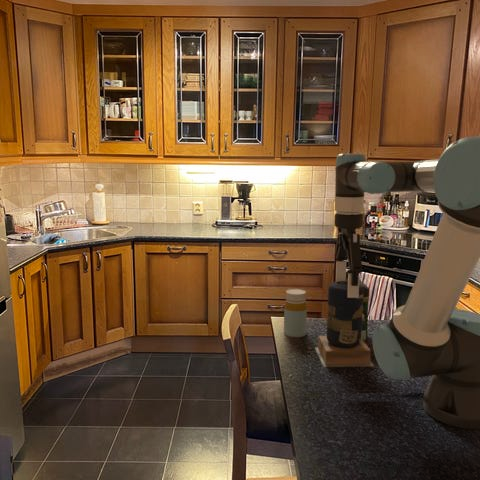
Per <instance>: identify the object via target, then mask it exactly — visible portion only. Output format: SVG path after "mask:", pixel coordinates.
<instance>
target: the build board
mask: <svg viewBox="0 0 480 480" xmlns="http://www.w3.org/2000/svg"><path fill="white" fill-rule="evenodd" d="M314 349H315V351H316V353H317V355H318V358H319V360H320V362H321V364H322V367H323V368H353V367H355V368H357V367H358V368H361V367H365V368H366V367H368V368H370V367H375V366H374V364H373V362H372V361H371V360H370V365H325V362H324V360H323V358H322V356H321V354H320V352H319V349H318V346H317V347H316V346H315V347H314Z"/></svg>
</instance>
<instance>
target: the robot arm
mask: <svg viewBox="0 0 480 480" xmlns="http://www.w3.org/2000/svg"><path fill="white" fill-rule="evenodd" d="M366 158H367V157H366V155H365V154H364V153H339V154H338V155H337V156H336V161H335V162H336V163H335V167H334V168H335V169H334V170H335V180H334V181H335V190H334V192H335V193H334V211H335V213H334V221H333V223H334V224H333V225H334V227H335V228H337V236H336V237H337V238H336V243H335V249H334V255H333V256H334V258H335V263H336V264H335V282H336V281H346V280H348V296H347V297H348V298H359V281H360V274H361V273H363V262H362V261H363V260H362V253H361V234H359V233H357V231H356V230H357V229H361V228H363V227H364V214H363V212H364V208H365V207H364V206H365V204H366V202H367V200H366V199H365V193H367V194H370V195H375V194H376V195H382V194H384V193H403V192H404V193H405V192H406V193H407V192H409V193H411V192H412V193H413V192H418V193H419V192H421V193H422V192H426V193H428V192H431V193H432V192H434V195H435V197H436V199H437V200H438V201H437V205H438V209H439V210H440V211H441V213H442V215H441V218H440V220H439V223H438V224H437V227H436V230H435V233H434V235H433V237H432V239H431V242H430V244H429V247H428V249H427V252H426V254H425V256H424V259H423V260H422V263H421V265H420V269H419V271H418V274H417V276H416V278H415V280H414V283H413V286H412V289H411V290H410V292H409V294H408V298H407V300H406V303H405V304H404V305H401V306H399V307H397V308H396V309H395V310H394V312H393V314H392V317H391V319H390V321H389V323H381V324H378V325H377V326H375V328H374V330H373V332H372V342H371V343H372V349H373V353H374V358H375V360H376V362H377V363H378V364H377V365H378V367H379V368H380V370H381V371H382V372H383V374H384V375H385V376H386V377H387V378H389V379H392V380H395V381H399V380H406V381H407V380H411V379H417V378H423V377H424V378H425V377H430V376H432V377H431V379H430V381H429V384H428V385H427V388H426V390H425V391H424V394H423V402H422V406H423V409H424V411H425V412H426V413H427V414H428V415H429V416H431V417H432V418H433V419H435V420H437V421H439V422H441V423H442V424H446V425H448V426H452V427H454V428H455V427H456V428H460V429H465V430H480V313H477V312H474V311H470V310H465V309H460V308H457V306H458V303H459V301H460V298H461V296H462V295H463V292H464V290H465V289H466V287H467V285H468V282H469V281H470V278H471V276H472V275H473V273H474V270H475V268H476V266H477V265H478V263H479V261H480V135H477V136H465V137H463V138H460V139H458V140H456V141H454V142H452V143H451V144H449V146H447V148H445V150H444V151H443V152H442V153H441V155H440V157H439V158H438V159H437V158H436V159H423V160H410V161H408V160H407V161H405V160H404V161H403V160H402V161H397V160H396V161H394V160H392V161H390V160H389V161H388V160H387V161H386V160H385V161H383V160H382V161H381V160H377V161H376V160H372V161H371V160H369V161H366ZM347 263H348V270H347Z"/></svg>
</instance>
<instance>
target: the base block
mask: <svg viewBox="0 0 480 480" xmlns="http://www.w3.org/2000/svg"><path fill="white" fill-rule="evenodd" d="M317 342H318V344H317V347H318V349H319V352H320V354H321V356H322V358H323V360H324V362H325V365H370V361H371V354H372V353H371V352H372V351H371V349H370V348H369V346H368V344H366V342H365V340H363V339H362V338H361V342H360V343H359V344H358V345H356V346H353V347H339V346H335V345H333V344H331V343H330V342H329V341H328V340H327V335H318V341H317Z"/></svg>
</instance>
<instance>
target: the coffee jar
mask: <svg viewBox="0 0 480 480" xmlns="http://www.w3.org/2000/svg"><path fill="white" fill-rule="evenodd" d="M346 281H348V279H346ZM359 284H361V285H362V286H363V288H364V294H363V311H362V315H363V316H362V331H361V338H362V339H363V341H366V340H367V339H368V326H369V325H368V322H369V321H368V320H369V301H370V288H369V286H367V284H365V282H362V281H360V280H359Z"/></svg>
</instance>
